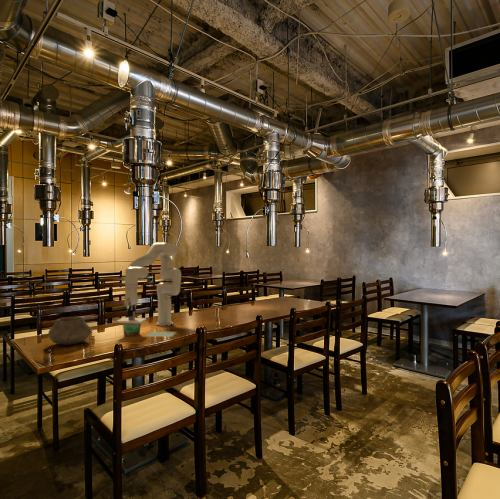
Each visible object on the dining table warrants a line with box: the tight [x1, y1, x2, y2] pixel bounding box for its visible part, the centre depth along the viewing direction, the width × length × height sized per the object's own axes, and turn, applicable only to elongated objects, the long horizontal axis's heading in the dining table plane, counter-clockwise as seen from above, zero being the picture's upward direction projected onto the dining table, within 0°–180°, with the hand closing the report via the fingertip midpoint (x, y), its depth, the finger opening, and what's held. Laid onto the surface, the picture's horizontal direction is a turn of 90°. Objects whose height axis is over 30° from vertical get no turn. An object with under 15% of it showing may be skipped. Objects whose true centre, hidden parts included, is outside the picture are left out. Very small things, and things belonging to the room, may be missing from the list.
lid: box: [116, 311, 147, 324], centre depth 211 cm, size 10×15×6 cm, turn 88°
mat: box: [146, 331, 177, 338], centre depth 215 cm, size 13×17×1 cm
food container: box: [121, 323, 142, 337], centre depth 211 cm, size 12×6×10 cm, turn 105°
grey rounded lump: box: [47, 316, 92, 346], centre depth 195 cm, size 22×21×15 cm
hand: (131, 315), depth 211 cm, fingers open, 4 cm apart
